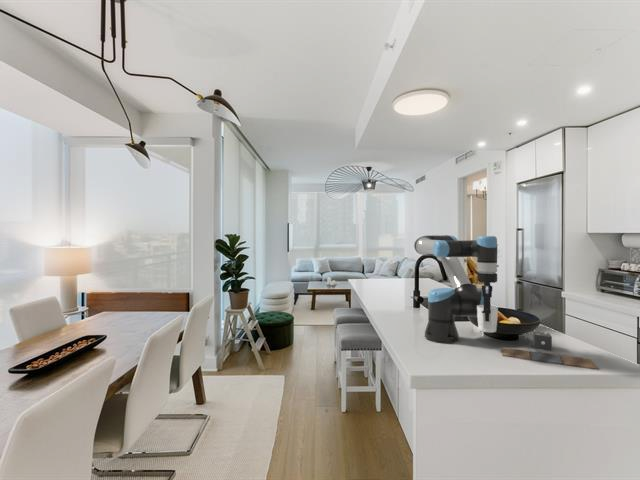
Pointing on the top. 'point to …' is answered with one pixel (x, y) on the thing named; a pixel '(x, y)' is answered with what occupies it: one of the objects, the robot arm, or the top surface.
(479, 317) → the white cup
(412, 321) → the top surface
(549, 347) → the die
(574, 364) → the board
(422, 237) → the robot arm
